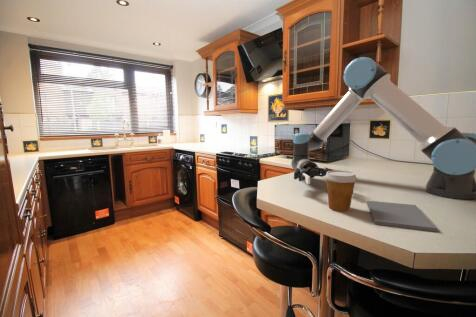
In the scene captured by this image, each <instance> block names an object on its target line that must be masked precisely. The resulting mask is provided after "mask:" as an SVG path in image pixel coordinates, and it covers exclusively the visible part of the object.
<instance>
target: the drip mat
mask: <svg viewBox="0 0 476 317" xmlns="http://www.w3.org/2000/svg"><path fill="white" fill-rule="evenodd" d="M366 205H367V208H368V210H369V214H370V215H371V218H372V220H373V221H372V222H373V223H374V225H378V226H387V227H392V228H393V227H394V228H401V229H402V228H403V229H410V230H419V231H425V232H433V233H434V232H436V233H437V232H438V227H437V226H436V225H435V223H433V222H432V221H431V220H430V218H429V217H428V216H426V214H425V213H424V212H423V211H422V210H421V209H420V207H418V206H417V205H416V204H410V203H409V204H407V203H399V202H398V203H397V202H385V201H374V200H366Z"/></svg>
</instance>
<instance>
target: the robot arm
mask: <svg viewBox="0 0 476 317" xmlns="http://www.w3.org/2000/svg"><path fill="white" fill-rule="evenodd" d="M343 82H344V83H345V85H346V86H347V87H348V91H347V92H346V93H345V95H343V97H342V98H341V99H340V100H339V101H338V102H337V103H336V104H335V106H334V107H333V108H332V109H331V110H330V112H328V114H327V115H325V117H324V118H323V119H322V120H321V122H320V123H319V124H318V125H317V126H316V127H315V128H314V130H313V131H312V132H311V133H310V134H309V133H307V132H296V133H294V134H293V141H292V143H293V145H292V146H293V148H292V150H293V151H292V152H293V155H292V157H293V158H292V159H291V161H290V166H291V168H292V169H293V170H294V173H293V180H298V182H302V181H303V182H304V183H306V184H307V185H311V179H313V178H315V177H321V178H323V177H325V175H326V173H327V172H328V171H333V170H335V169H332V168H328V167H324V168H322V167H319V166H318V164H317V163H316V162H314V161H312V160H310V151H313V150H314V151H315V150H318V149H321V148H322V146H323V144H324V142H325V141H326V139H328V138H329V137H330V135H332V133H333V132H334V131H335V130H336V129H337V128H338V127H339V126H340V125H341V124H342V123H343V121H344V120H345V119H347V118H348V116H349V115H350V114H351V113H352V112H353V111H354V110H355V109H356V108H357V107H358V105H360V104H361V102H363V101H367V100H368V99H369V100H371V101H373V102H374V103H375V104H376V105H377V106H379V108H380V109H381V110H382V111H384V112H385V113H386V114H387V115H388V116H389V117H390V118H391V119H392V120H394V121H395V122H396V123H397V124H398V125H399V126H400V127H401V128H403V130H405V131H406V132H407V133H408V134H409V135H410V136H411V137H412V138H413V139H415V140H416V141H417V142H418V143H419V144H420V147H419V150H420V151H421V152H422V153H423V154H424V155H425V156H426V157H427V159H429V160H430V161H431V162H432V165H433V171H432V173H431V175H430V176H429V178H428V181H427V182H426V184H425V192H428V193H430V194H431V195H435V196H439V197H443V198H450V199H457V200H458V199H459V200H475V199H476V177H475V173H476V133H475V132H474V133H473V132H461V131H460V130H459V129H457V128H456V127H454V126H445V125H444V124H443V123H442V122H440V121H439V120H438V119H437V118H436V117H434V116H433V115H432V114H431V113H430V112H428V111H427V110H426V109H424V107H423V106H421V105H419V103H417V101H415V100H414V99H413V98H412V97H410V96H409V95H408V94H407V93H405V92H404V91H403V90H402V89H400V88H399V86H397V85H396V84H395V83H393V81H391V74H390V73H389V72H387V70H386V69H384V68H383V67H382V66H381V65H380V64H379V63H378V62H376V61H375V60H374V59H372V58H370V57H367V56H366V57H365V56H360V57H357V58H354V59H353V60H352V61H350V62H349V63H348V64H347V65H346V66H345V68H344V72H343Z"/></svg>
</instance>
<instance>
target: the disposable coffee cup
mask: <svg viewBox="0 0 476 317" xmlns="http://www.w3.org/2000/svg"><path fill="white" fill-rule="evenodd" d="M356 176H357V175H356V172H352V171H349V170H340V169H334V170H333V171H328V172H327V173H326V175H325V176H324V178H325V180H326V190H327V197H328V198H327V199H328V208H329V209H330V210H332V211H334V212H339V213H340V212H342V213H343V212H344V213H345V212H348V211H350V210H351V205H352V200H353V195H354V194H353V193H354V188H355V184H356V181H357V179H358V177H356Z"/></svg>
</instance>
